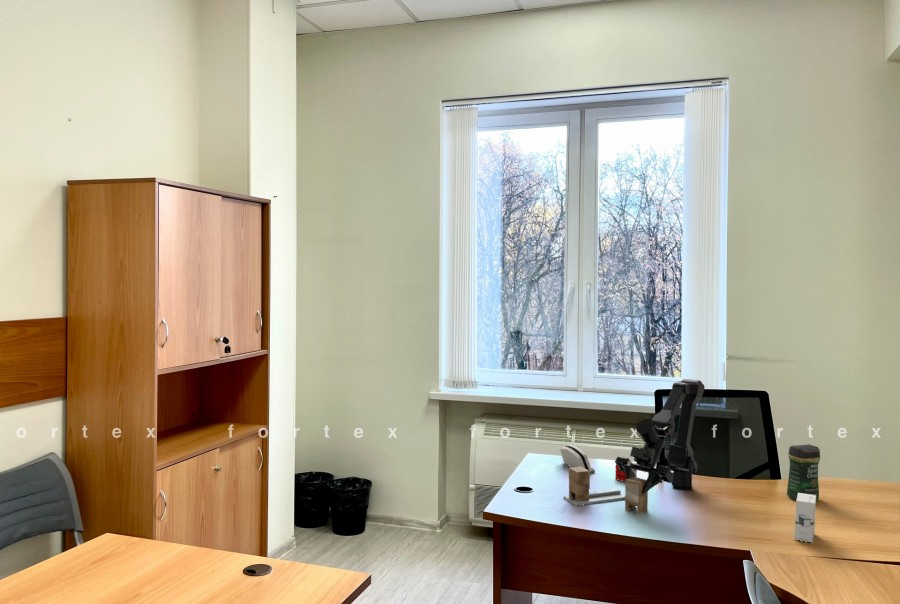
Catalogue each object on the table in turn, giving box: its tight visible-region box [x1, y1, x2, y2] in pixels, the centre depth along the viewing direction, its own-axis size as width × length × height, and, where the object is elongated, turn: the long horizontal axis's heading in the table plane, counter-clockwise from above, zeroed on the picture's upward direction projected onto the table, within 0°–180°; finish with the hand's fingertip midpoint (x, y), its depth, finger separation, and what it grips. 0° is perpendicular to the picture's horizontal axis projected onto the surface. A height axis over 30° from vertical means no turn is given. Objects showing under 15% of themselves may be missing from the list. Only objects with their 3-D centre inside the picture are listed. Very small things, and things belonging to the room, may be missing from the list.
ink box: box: [793, 493, 817, 543], centre depth 187 cm, size 9×5×12 cm, turn 148°
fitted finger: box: [568, 466, 591, 502], centre depth 217 cm, size 5×6×10 cm
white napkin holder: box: [559, 444, 596, 473], centre depth 255 cm, size 17×5×10 cm, turn 19°
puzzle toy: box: [614, 464, 638, 482], centre depth 240 cm, size 6×6×6 cm
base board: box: [563, 489, 625, 507], centre depth 219 cm, size 20×8×1 cm, turn 109°
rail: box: [568, 488, 622, 500], centre depth 219 cm, size 19×2×1 cm, turn 109°
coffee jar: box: [786, 443, 821, 501], centre depth 219 cm, size 10×8×19 cm
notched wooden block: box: [624, 477, 649, 515], centre depth 208 cm, size 5×6×10 cm
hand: (634, 491), depth 207 cm, fingers closed on notched wooden block, 5 cm apart
